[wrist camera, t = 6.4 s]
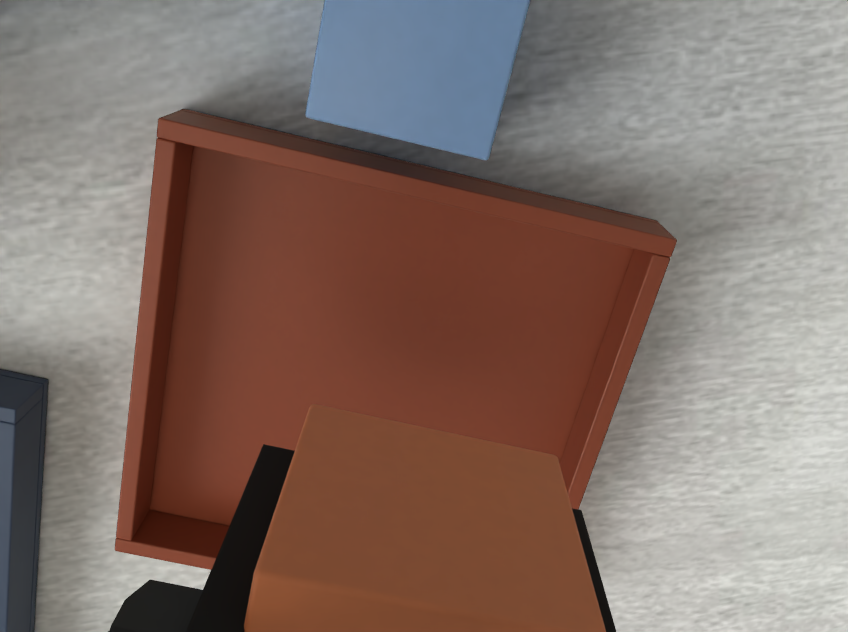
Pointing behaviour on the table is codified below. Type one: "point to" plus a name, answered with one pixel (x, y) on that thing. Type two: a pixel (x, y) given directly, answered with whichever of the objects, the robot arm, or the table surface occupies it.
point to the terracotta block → (419, 536)
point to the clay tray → (361, 316)
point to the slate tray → (20, 495)
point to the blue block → (417, 69)
